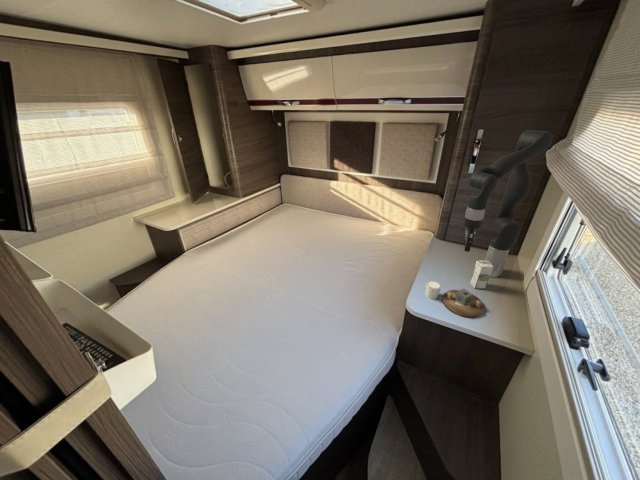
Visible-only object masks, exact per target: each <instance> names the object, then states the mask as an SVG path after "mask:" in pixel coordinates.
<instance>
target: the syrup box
mask: <svg viewBox="0 0 640 480" xmlns="http://www.w3.org/2000/svg"><path fill="white" fill-rule="evenodd" d="M492 270H493V266H492V264H491V263H490V262H489V261H485V260H476V262H475V266H474V268H473V271H472V273H471V277H470V280H469V283H470V285H471V286H472V287H473V289H477V290H478V289H479V290H480V289H481V290H482V289H483V290H485V289H486V288H487V285H488V283H489V280H490V275H491V272H492Z"/></svg>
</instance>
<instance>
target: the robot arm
mask: <svg viewBox="0 0 640 480" xmlns="http://www.w3.org/2000/svg"><path fill="white" fill-rule="evenodd" d="M553 139H554V138H553V133H552V132H550V131H548V130H538V129H537V130H535V129H525V130H524V131H522V132H521V134H520V135H519V138H518V140H517V143H516V148H515V151H514V152H510V153H508V154H506V155H503V156H501V157H500V158H498V159H497V160H496V161H494V162H492V164H490V165H487V166H485V167H482V168H480V169H478V170H476V171H475V172H473V173H472V174H471V175H470V177H469V179H468V185H469V186H470V187H471V188H473V189H476V190H480V192H479V193H478V192H477V193H472V194H470V196H469V199H468V204H467V207H466V210H465V215H464V217H463V226H464V227H465V238H464V244H465V245H464V250H463V251H464V252H468V253H470V252H471V247H472V246H473V242H474V240H475V236H476V230H478V229H480V228H482V226H483V221H484V218H485V213H486V209H487V203H488V200H489V199H490V196H491V195H492V193H493V192H494V190H495V188H496V187H497V184H498V179H501V178H503V177H504V176H506V175H507V174H508V173H509V172H510V174H509V176H508V181H507V183H506V186H505V190H504V193H503V197H502V200H501V204H500V207H499V210H498V212H497V215H496V216H495V219H494V221H493V226H492V227H493V229H494V230H495V232H496V233H497V236H496V238H495V237H494V238H492V239H491V240H490V243H489V245H488V250H487V252H486V255H485V258H484V261H489V262H490V263H491V264H492V266H493V270H492V272H491V275H490V277H491V278H499V277H500V275H501V274H503V272H504V271H503V270H504V267H505V265H506V263H507V258H508V256H509V252H510V249H511V247H512V246H513V245H514V244H515V242H516V240H517V238H518V235H519V233H520V225H519V223H518V222H516V221H515V220H514V214H515V211H516V209H517V208H518V206H519V205H520V204H521V203H522V202H523V201H524V200H525V199H526V197H527V196H528V193H529V191H530V188H531V186H532V177H531V173H530V171H529V167H528V163H527V162H528V161H529V160H531V159H533V158H535V157H536V156H537V157H538V156H539V155H540V154H542V153H544V152H545V151H547V150H548V149H549V147H550V146H551V145H552V142H553Z"/></svg>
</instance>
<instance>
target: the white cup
mask: <svg viewBox="0 0 640 480" xmlns="http://www.w3.org/2000/svg"><path fill="white" fill-rule="evenodd" d="M441 289H442V284H441V283H440V282H438V281H436V280H428V281H427V282H426V288H425V296H426V298H428V299H430V300H436V299H438V297H439V294H440V292H441Z"/></svg>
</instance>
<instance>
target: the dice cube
mask: <svg viewBox="0 0 640 480" xmlns="http://www.w3.org/2000/svg"><path fill="white" fill-rule="evenodd" d="M459 290H460V291H457V293H456V296H455V300H456V301H457V302H458V303H460V304H461V305H463V306H465V305H467V304H469V303H471V299H472V296H473V295H474V294H473V293H471V292H470V291H469V290H468V289H465V288H462V289H459Z"/></svg>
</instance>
